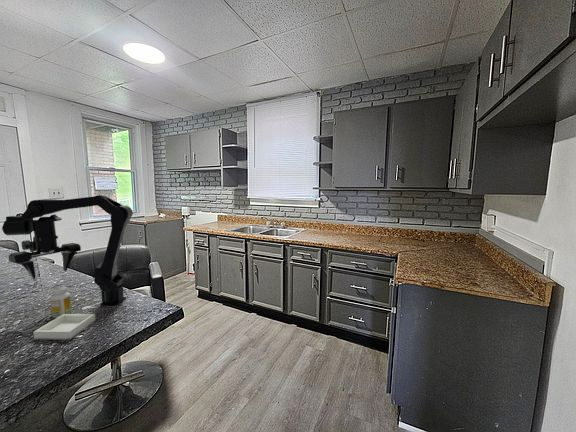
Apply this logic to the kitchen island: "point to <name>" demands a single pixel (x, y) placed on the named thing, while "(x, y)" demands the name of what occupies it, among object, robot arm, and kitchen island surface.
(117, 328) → the kitchen island surface
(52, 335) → the tray
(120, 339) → the kitchen island surface
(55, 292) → the supplement bottle
